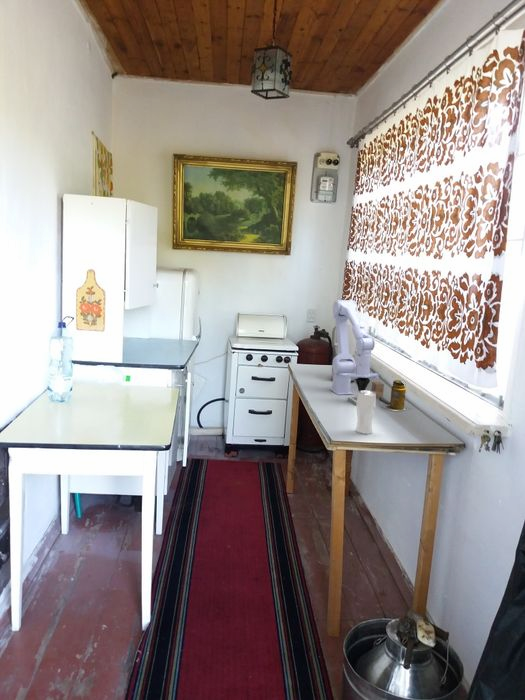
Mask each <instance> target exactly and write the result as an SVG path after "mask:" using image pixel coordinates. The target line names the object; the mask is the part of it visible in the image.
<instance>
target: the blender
mask: <svg viewBox="0 0 525 700" xmlns="http://www.w3.org/2000/svg"><path fill="white" fill-rule="evenodd" d="M352 328H353V326H352V324H351V322H350V321H349V319H348V320H347V332H348V346H349V354H350V355H351V356H353V357H354V362H355V364H356V365H357V360H356V358H355V352H356V349H357V348H356V342H357V341H356V338H355V336H354V334H353V332H352ZM331 345H332V346H334V349H335V355H334V357H333V359H334V358H335V357H336V356H337V355H338V343H337V329H336V326H334V327H333V328H332V334H331ZM339 361H347V360H339ZM354 373H356V371H355V372H354ZM334 374H335V373H334V372H333V362H332V365H331V378H330V379H331V381H333V376H334ZM351 382H356V381H355V379H351Z"/></svg>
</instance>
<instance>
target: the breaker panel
mask: <svg viewBox="0 0 525 700" xmlns="http://www.w3.org/2000/svg"><path fill="white" fill-rule="evenodd" d="M357 397H358V395H357V396H355V397H354V396H353V397H352V396H351V397H347V401H348V402H349V403H351V404H352V405H354V406H356V407H357Z"/></svg>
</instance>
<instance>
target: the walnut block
mask: <svg viewBox="0 0 525 700" xmlns="http://www.w3.org/2000/svg"><path fill="white" fill-rule="evenodd" d="M384 387H385V384H384V383H383V382H381V381H372V382H371V390H370V391H372V392H375V393H376V400H377V399H378V400H380V399H379V397H382V398H384Z"/></svg>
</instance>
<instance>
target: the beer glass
mask: <svg viewBox="0 0 525 700" xmlns="http://www.w3.org/2000/svg"><path fill="white" fill-rule="evenodd" d="M357 396H358V397H357V406H356V416H357V418H356V419H357V423H356V427H355V432H356V433H358V434H363V435H371V434H372V433H373V427H372V424H373V418H374V415H375V412H376V407H377V406H376V405H377V399H376V393H375V392H372V391H371V390H365V391H359V390H358V391H357Z"/></svg>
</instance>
